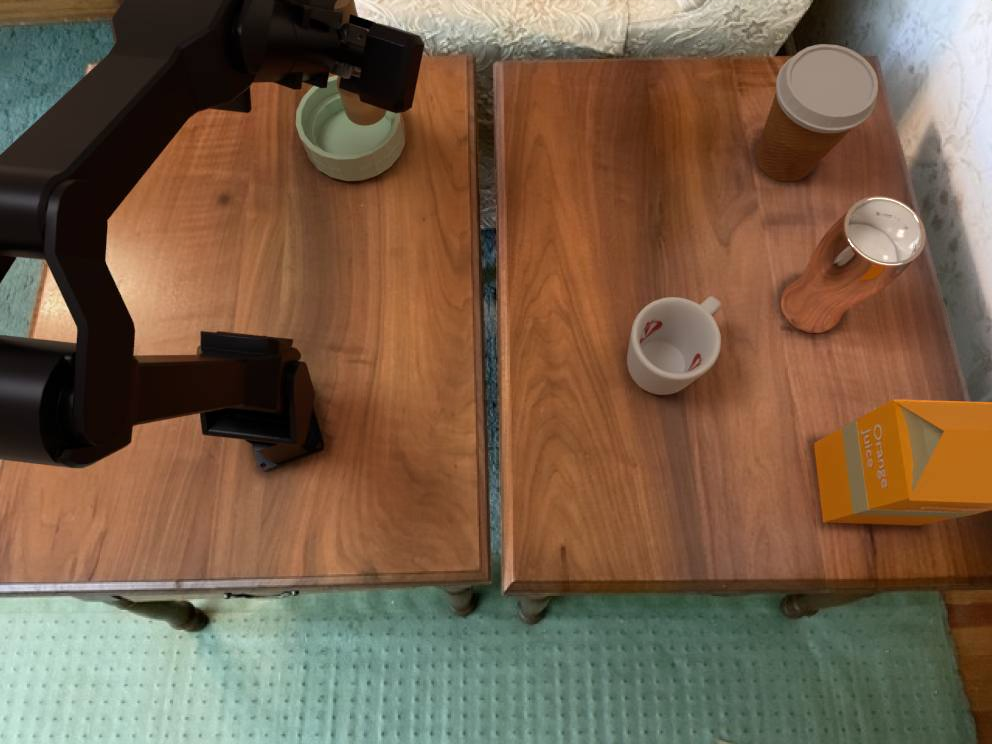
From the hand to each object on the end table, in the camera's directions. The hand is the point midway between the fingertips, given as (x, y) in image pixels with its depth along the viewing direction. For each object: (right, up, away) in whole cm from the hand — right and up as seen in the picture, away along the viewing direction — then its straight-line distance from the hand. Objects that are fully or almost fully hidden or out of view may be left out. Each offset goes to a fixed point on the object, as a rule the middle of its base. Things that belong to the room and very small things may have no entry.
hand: (358, 46), depth 66 cm
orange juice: (+48, -42, -1) cm, 63 cm away
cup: (+30, -30, +4) cm, 42 cm away
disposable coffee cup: (+45, -7, +11) cm, 47 cm away
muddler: (0, -3, +6) cm, 7 cm away
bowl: (-3, -5, +13) cm, 14 cm away
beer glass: (+45, -24, +5) cm, 52 cm away
